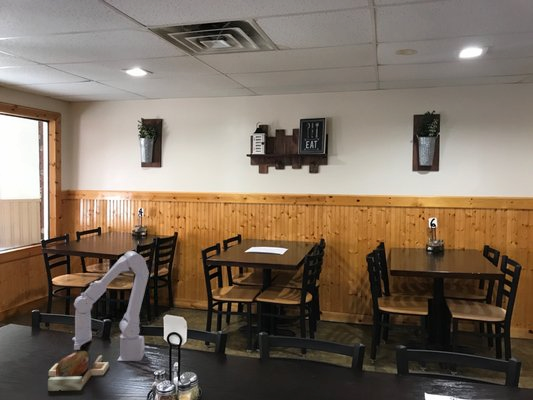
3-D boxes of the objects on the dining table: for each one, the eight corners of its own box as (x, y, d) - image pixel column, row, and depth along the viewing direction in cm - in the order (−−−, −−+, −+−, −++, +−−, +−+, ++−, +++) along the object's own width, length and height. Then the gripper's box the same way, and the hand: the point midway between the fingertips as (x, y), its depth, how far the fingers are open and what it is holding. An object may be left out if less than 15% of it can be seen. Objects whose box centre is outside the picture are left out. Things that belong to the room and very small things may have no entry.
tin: (61, 386, 155) (60, 362, 154) (54, 384, 156) (53, 361, 155) (90, 368, 169) (90, 347, 169) (84, 367, 170) (84, 346, 170)
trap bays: (108, 367, 171) (108, 362, 171) (103, 375, 164) (103, 369, 164) (56, 368, 169) (56, 363, 169) (48, 376, 162) (48, 371, 162)
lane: (102, 360, 177) (102, 350, 177) (80, 390, 152) (80, 378, 152) (74, 360, 177) (74, 350, 176) (47, 390, 151) (47, 379, 151)
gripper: (79, 320, 177) (79, 353, 178) (65, 333, 163) (65, 368, 163) (96, 320, 178) (97, 353, 178) (84, 333, 163) (85, 368, 164)
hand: (83, 360), depth 171 cm, fingers closed
